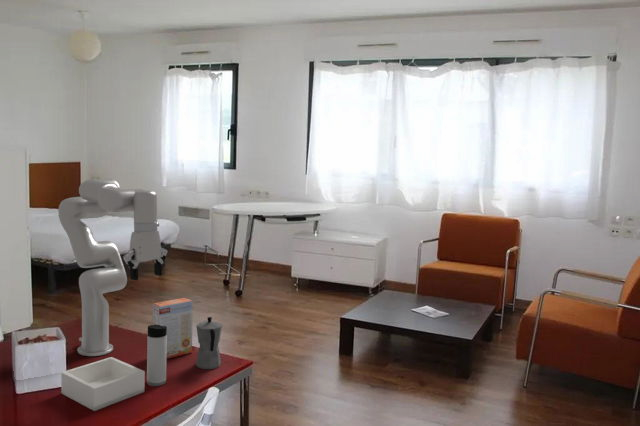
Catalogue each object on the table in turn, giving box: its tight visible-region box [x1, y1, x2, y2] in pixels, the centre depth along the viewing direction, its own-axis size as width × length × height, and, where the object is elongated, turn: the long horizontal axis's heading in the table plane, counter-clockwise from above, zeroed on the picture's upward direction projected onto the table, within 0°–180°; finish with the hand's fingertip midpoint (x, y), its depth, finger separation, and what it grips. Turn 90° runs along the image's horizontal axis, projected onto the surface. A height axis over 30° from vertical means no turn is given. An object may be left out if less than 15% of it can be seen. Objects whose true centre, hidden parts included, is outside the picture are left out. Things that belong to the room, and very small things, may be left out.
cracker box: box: [152, 297, 194, 360], centre depth 219 cm, size 14×6×21 cm, turn 133°
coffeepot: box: [195, 316, 223, 370], centre depth 210 cm, size 15×9×18 cm, turn 20°
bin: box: [60, 356, 146, 412], centre depth 185 cm, size 18×18×7 cm
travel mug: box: [146, 324, 167, 387], centre depth 194 cm, size 6×7×20 cm
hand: (146, 277), depth 197 cm, fingers open, 9 cm apart
